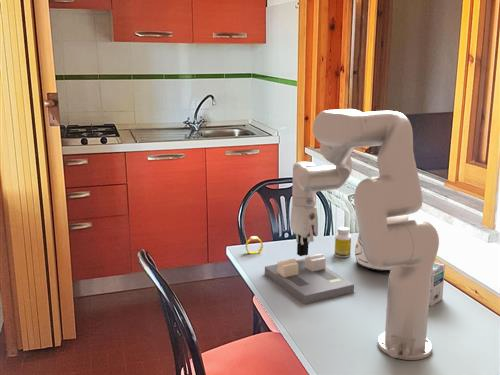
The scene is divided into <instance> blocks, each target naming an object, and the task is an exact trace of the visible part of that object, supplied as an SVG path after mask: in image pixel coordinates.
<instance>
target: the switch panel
mask: <svg viewBox="0 0 500 375" xmlns="http://www.w3.org/2000/svg"><path fill="white" fill-rule="evenodd" d="M296 263H298V275H293V276H288V277H283V276H281V275H280V274H278V273H277V271H278V263H276V264H271V265H265V266H264V275H266V276H267V277H268V278H269V279H271V280H272V281H273V282H275V283H276V284H278V285H279V286H281V288H283V289H284V290H286V291H287V292H289V293H290V294H291V295H292V296H293V297H295V298H296V299H298V300H299V301H300V302H302V303H303V304H305V305H306V304H310V303H313V302H319V301H323V300H327V299H331V298H335V297H340V296H343V295H344V296H345V295H349V294H352V293H354V292H355V283H353V282H351V281H349V280H348V279H346V278H344V277H343V276H341V275H339V274H338V273H336V272H334V271H333V270H331V269H330V268H329V267H326V269H322V270H318V271H313V272H312V271H310V270H309V269H307V268H306V267H305V258H301V259H296Z"/></svg>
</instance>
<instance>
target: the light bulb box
mask: <svg viewBox="0 0 500 375" xmlns="http://www.w3.org/2000/svg"><path fill="white" fill-rule="evenodd" d="M445 268H446V264H445V263H441V262H437V261H434V265H433V270H432V277H431V287H430V297H429V306H431V307H432V306H435V305H436V304H437V303H439V302H440V301H441V300H443V296H444V284H445V283H444V280H445Z"/></svg>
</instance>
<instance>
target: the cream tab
mask: <svg viewBox="0 0 500 375" xmlns="http://www.w3.org/2000/svg"><path fill="white" fill-rule="evenodd" d="M296 260H297V259H296V258H289V259H285V260H280V261H277V264H278V271H277V273H278V274H280V275H281V276H283V277H288V276H293V275H298V263H296Z"/></svg>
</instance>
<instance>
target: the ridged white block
mask: <svg viewBox="0 0 500 375" xmlns="http://www.w3.org/2000/svg"><path fill="white" fill-rule="evenodd" d="M304 259H305V267H306V268H307V269H309V270H310V271H312V272H313V271H318V270H322V269H326V268H327V267H326V266H327V259H326V257H325V256H324V253H316V254H310V255H308V256H307V255H306V256H305V257H304Z"/></svg>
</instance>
